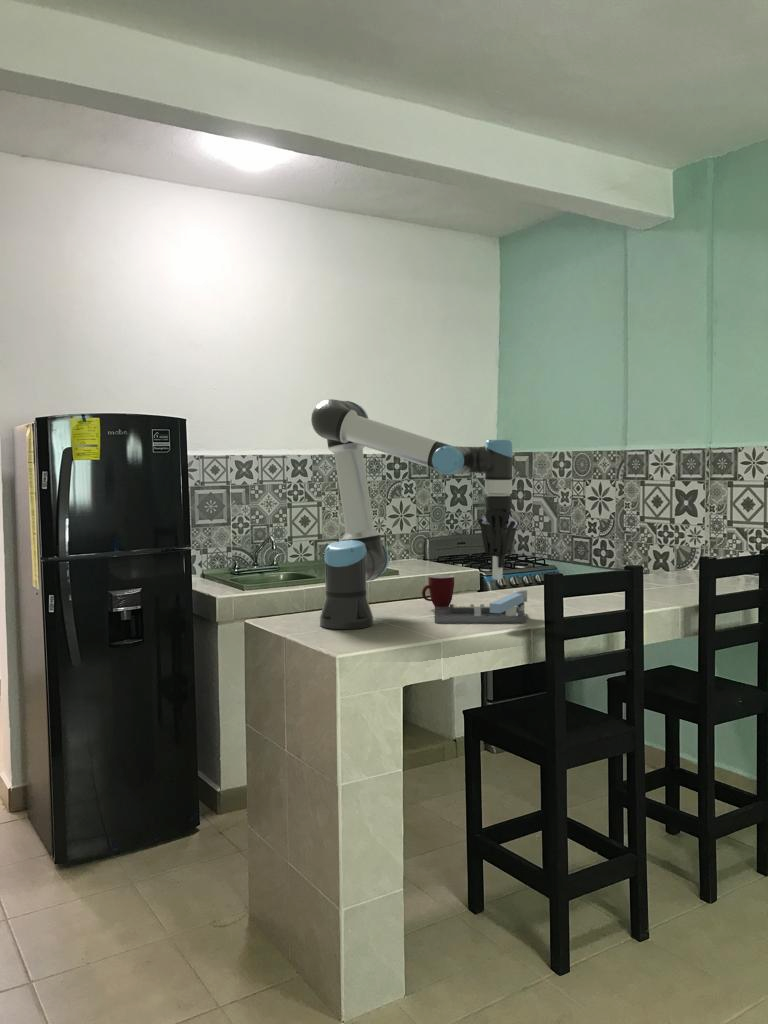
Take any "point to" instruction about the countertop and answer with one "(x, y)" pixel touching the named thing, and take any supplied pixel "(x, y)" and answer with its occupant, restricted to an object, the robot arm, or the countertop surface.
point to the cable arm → (508, 601)
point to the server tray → (478, 614)
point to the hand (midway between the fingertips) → (497, 578)
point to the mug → (440, 590)
